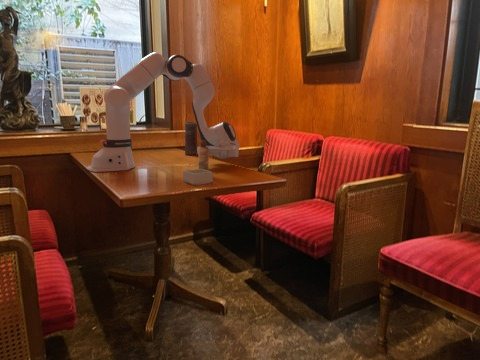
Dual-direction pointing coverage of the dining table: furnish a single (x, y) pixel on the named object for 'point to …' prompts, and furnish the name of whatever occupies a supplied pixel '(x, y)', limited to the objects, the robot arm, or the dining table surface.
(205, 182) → the box
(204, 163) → the pepper mill
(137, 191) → the dining table surface
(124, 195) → the dining table surface
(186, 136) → the candle
